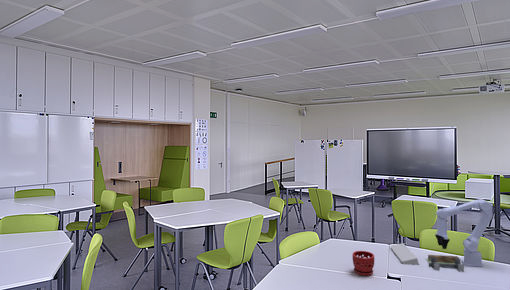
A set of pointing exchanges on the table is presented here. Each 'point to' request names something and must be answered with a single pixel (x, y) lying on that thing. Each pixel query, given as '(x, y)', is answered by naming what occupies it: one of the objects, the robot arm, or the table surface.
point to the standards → (446, 265)
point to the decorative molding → (404, 254)
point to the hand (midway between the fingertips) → (442, 247)
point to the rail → (443, 258)
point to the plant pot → (363, 262)
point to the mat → (440, 262)
